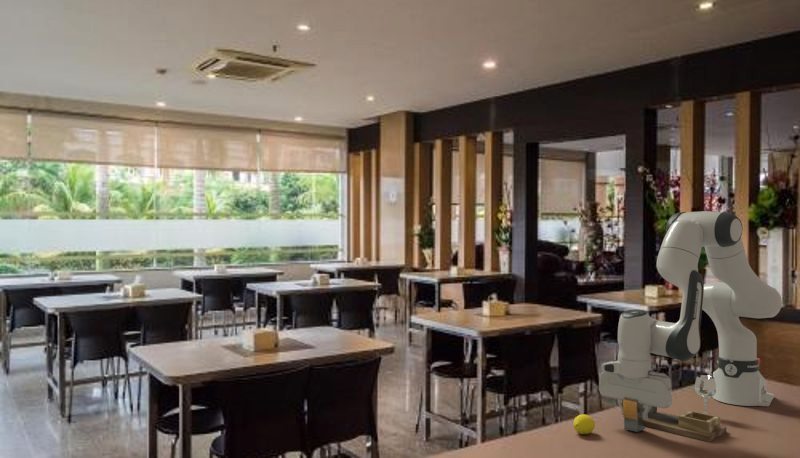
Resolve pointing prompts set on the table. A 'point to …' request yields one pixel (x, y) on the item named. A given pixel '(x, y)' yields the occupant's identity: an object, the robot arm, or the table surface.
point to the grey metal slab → (633, 415)
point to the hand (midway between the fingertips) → (634, 417)
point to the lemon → (584, 424)
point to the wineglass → (705, 387)
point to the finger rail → (687, 424)
